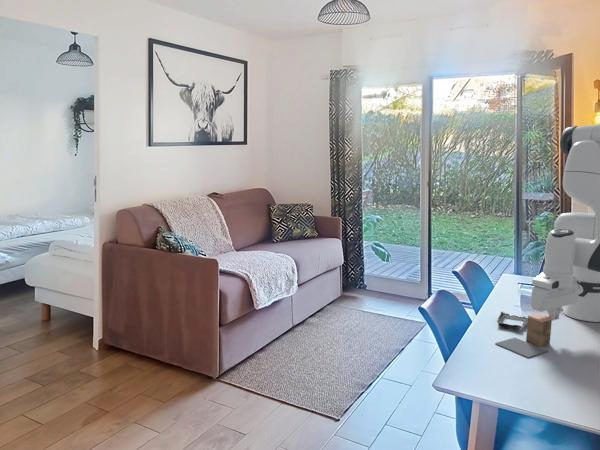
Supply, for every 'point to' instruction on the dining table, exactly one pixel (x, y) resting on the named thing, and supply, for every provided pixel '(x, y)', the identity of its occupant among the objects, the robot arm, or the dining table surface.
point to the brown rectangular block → (538, 330)
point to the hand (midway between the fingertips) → (553, 319)
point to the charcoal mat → (521, 347)
